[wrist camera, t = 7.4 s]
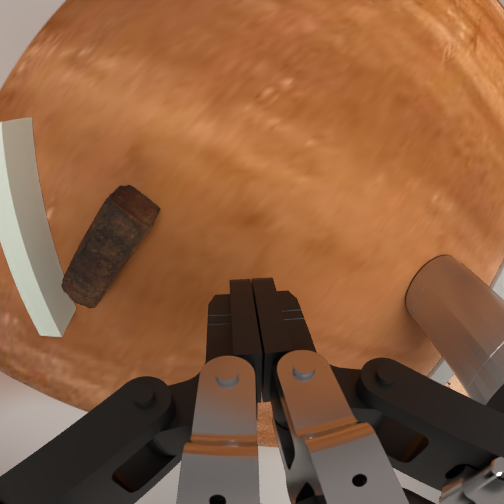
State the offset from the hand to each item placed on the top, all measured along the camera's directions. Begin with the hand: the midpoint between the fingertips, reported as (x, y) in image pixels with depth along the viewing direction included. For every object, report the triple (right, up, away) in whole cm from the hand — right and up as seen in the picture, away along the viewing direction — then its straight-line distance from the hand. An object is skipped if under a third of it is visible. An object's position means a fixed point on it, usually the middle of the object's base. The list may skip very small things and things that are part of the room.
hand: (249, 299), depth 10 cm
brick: (-12, +3, +13) cm, 18 cm away
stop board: (-20, +4, +11) cm, 23 cm away
